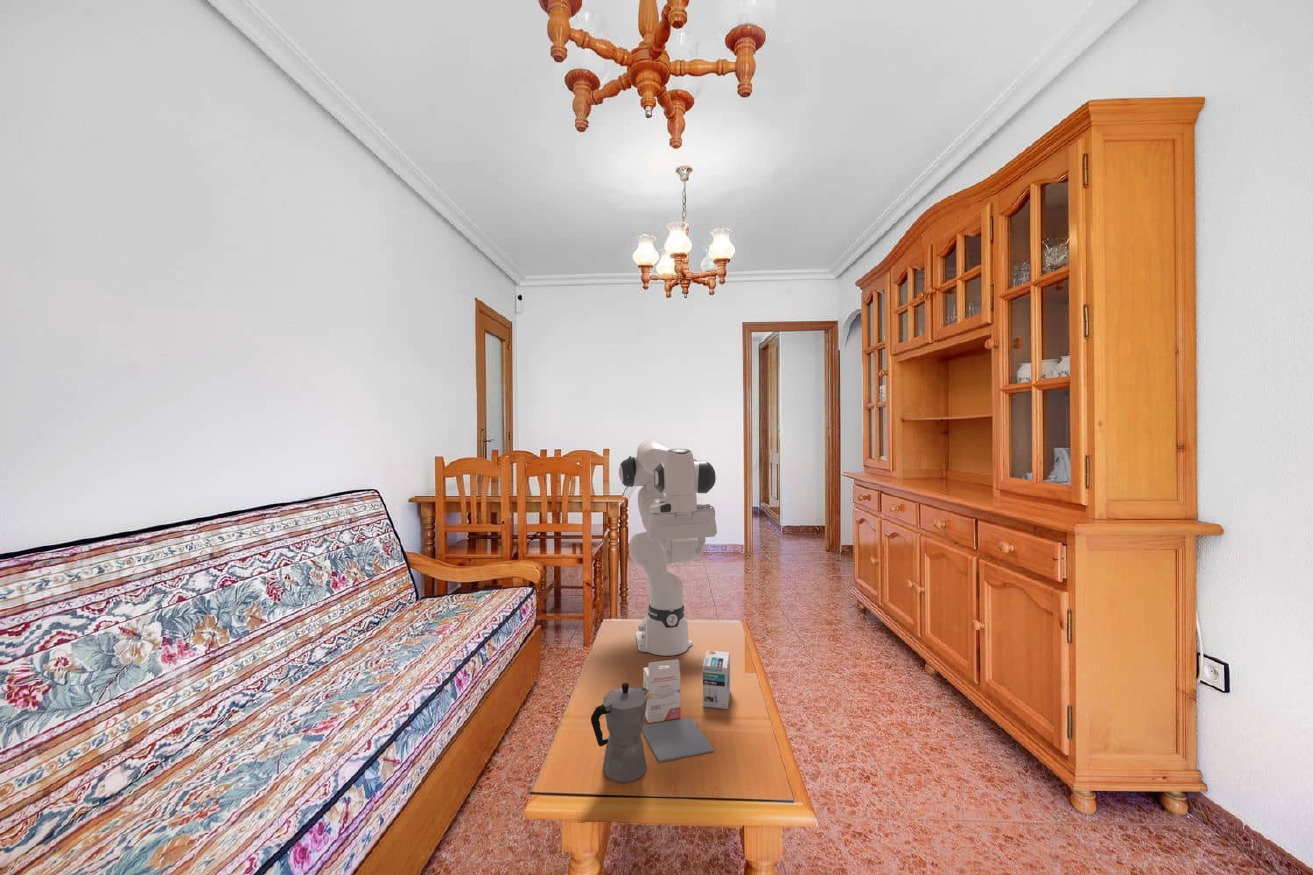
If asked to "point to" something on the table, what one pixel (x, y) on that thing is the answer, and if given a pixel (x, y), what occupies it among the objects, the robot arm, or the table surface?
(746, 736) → the table surface
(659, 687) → the ink cartridge box
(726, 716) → the table surface
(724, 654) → the light bulb box
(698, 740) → the mat
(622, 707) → the coffeepot
